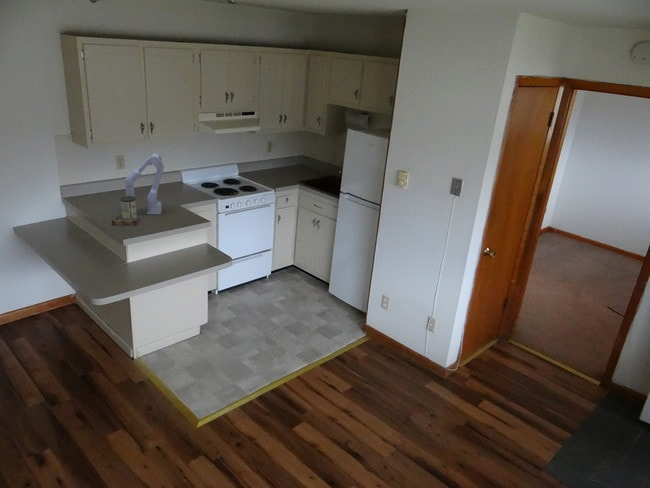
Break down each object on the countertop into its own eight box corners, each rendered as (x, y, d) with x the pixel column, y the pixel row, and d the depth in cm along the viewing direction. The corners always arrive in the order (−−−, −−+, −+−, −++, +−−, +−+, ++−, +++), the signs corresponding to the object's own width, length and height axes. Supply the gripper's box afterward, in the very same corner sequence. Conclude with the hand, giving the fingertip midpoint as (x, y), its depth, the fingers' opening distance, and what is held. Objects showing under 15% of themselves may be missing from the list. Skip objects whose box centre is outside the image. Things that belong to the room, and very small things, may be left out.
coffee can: (124, 214, 363) (123, 195, 358) (139, 215, 364) (137, 196, 358) (119, 219, 354) (117, 200, 348) (134, 219, 354) (132, 200, 349)
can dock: (139, 220, 354) (138, 216, 352) (136, 225, 344) (136, 221, 343) (115, 220, 351) (115, 216, 350) (112, 225, 342) (111, 221, 341)
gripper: (126, 190, 367) (128, 208, 372) (122, 196, 354) (124, 214, 359) (136, 190, 368) (138, 208, 373) (132, 196, 355) (134, 214, 360)
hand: (131, 211), depth 366 cm, fingers closed
